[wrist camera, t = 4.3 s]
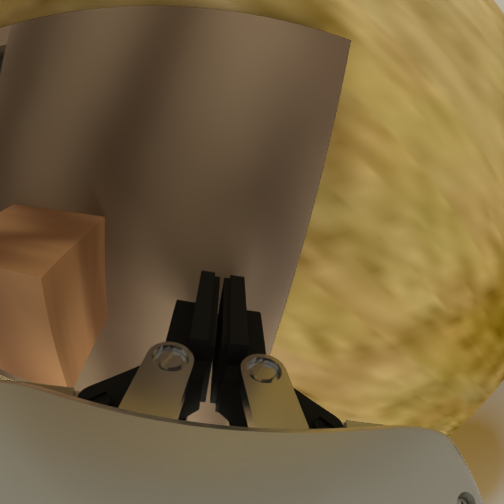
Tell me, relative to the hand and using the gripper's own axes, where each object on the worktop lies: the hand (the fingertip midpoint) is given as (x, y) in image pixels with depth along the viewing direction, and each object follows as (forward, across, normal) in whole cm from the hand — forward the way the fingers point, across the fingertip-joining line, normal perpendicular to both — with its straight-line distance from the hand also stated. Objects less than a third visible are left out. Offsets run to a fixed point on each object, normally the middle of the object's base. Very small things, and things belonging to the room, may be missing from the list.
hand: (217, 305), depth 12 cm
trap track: (+4, +7, 0) cm, 8 cm away
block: (+1, +8, 0) cm, 8 cm away
